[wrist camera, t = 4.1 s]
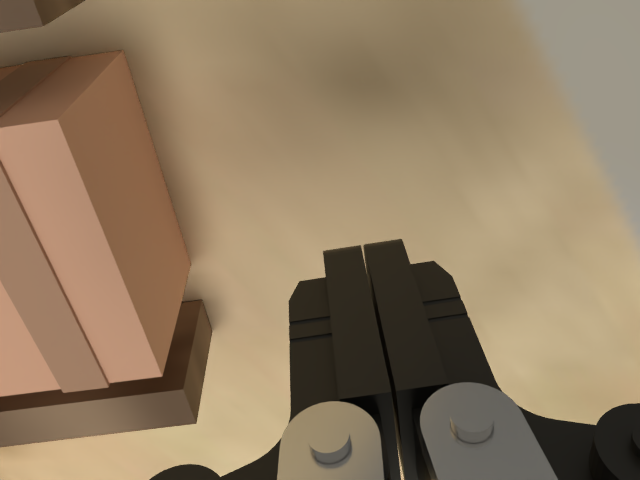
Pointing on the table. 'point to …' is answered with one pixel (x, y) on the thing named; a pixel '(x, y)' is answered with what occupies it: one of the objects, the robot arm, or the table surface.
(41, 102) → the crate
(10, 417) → the bar
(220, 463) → the table surface
